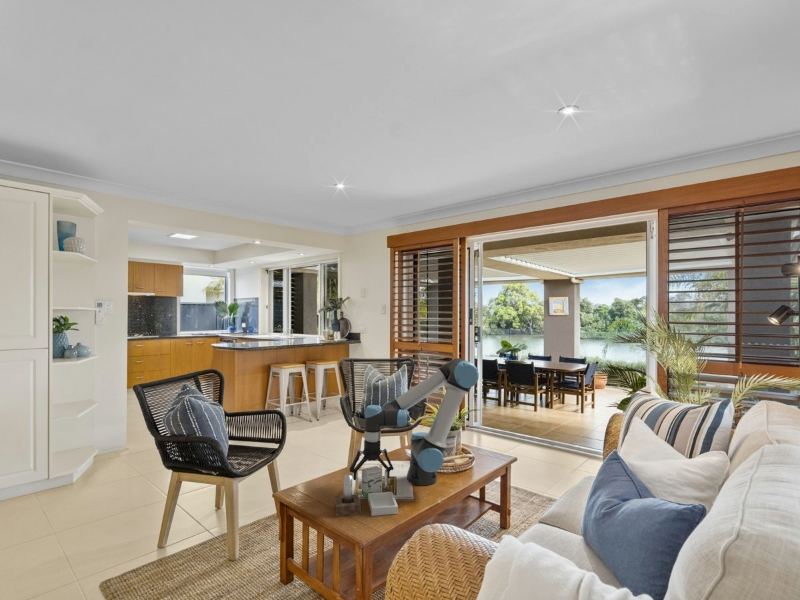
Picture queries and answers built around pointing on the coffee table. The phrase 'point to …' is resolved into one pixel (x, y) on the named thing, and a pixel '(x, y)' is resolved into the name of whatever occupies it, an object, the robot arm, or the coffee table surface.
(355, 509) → the hollow square tube
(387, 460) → the robot arm
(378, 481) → the ink box
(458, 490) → the coffee table surface
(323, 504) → the coffee table surface
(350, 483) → the cylinder
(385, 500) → the tray
